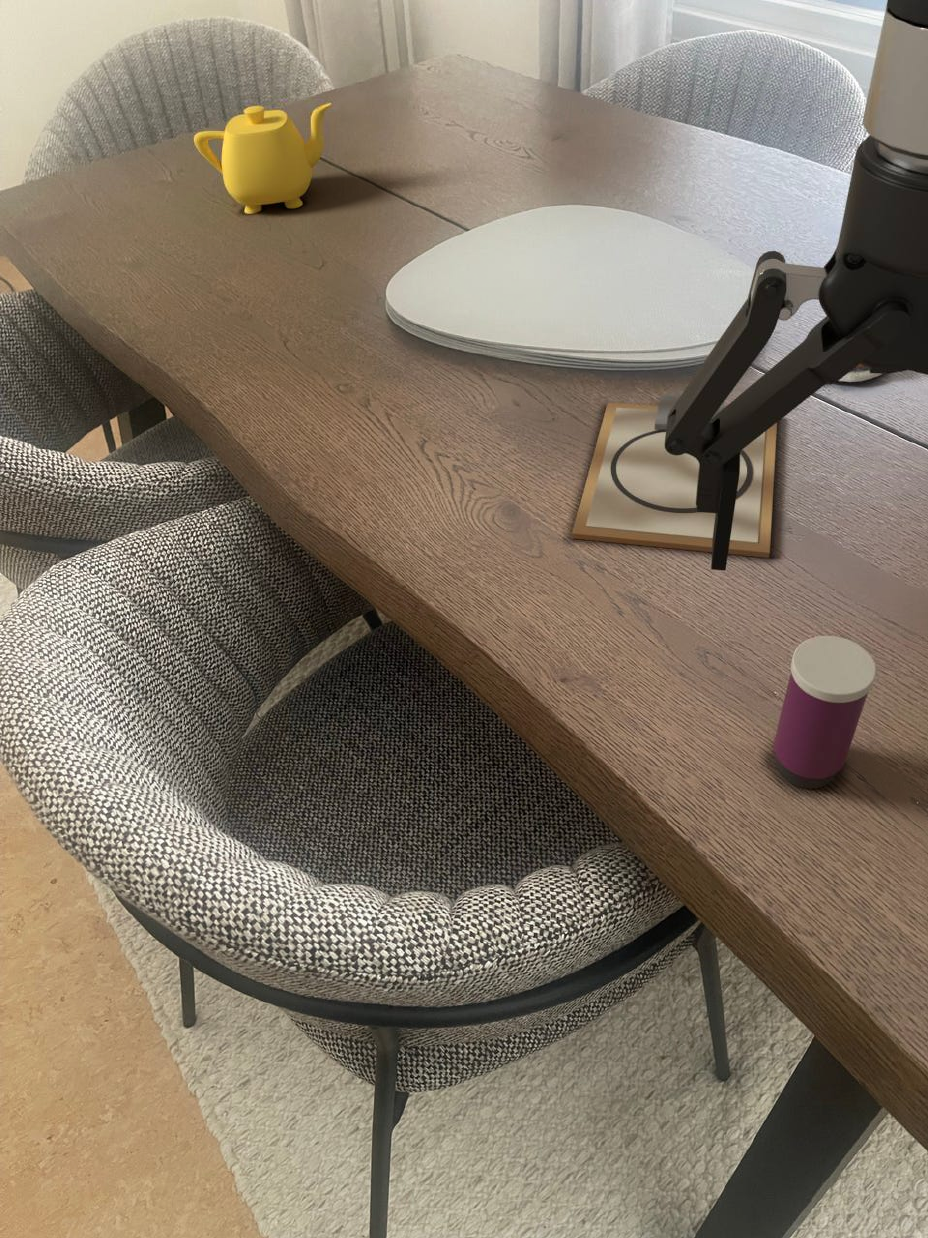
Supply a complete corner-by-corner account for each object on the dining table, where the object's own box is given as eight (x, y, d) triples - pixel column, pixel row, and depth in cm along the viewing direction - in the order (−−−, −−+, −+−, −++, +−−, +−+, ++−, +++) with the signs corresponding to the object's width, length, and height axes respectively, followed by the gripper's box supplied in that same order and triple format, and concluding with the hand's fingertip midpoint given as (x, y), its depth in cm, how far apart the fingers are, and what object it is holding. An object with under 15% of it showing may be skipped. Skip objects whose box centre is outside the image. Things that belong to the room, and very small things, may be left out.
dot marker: (842, 800, 59) (878, 699, 52) (767, 788, 60) (791, 688, 53) (841, 742, 62) (875, 640, 55) (769, 732, 63) (793, 630, 56)
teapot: (346, 207, 133) (330, 113, 125) (208, 225, 133) (181, 132, 125) (346, 173, 143) (331, 83, 134) (216, 189, 143) (192, 101, 134)
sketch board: (768, 558, 75) (771, 545, 74) (572, 538, 79) (571, 525, 78) (777, 414, 89) (779, 401, 88) (608, 403, 93) (609, 390, 92)
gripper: (1317, 94, 35) (1094, 533, 50) (635, 112, 40) (621, 504, 55) (1413, 173, 30) (1133, 635, 45) (617, 182, 35) (607, 592, 50)
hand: (850, 563), depth 50 cm, fingers open, 13 cm apart
